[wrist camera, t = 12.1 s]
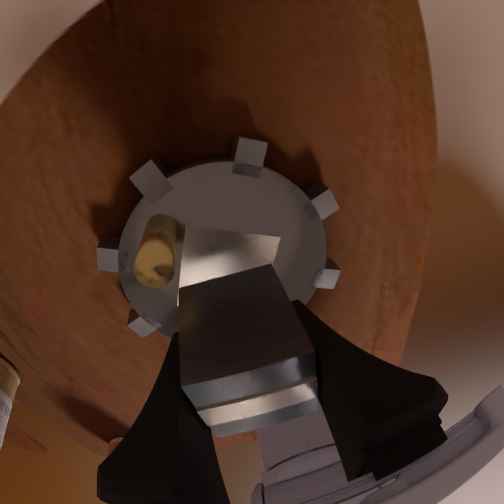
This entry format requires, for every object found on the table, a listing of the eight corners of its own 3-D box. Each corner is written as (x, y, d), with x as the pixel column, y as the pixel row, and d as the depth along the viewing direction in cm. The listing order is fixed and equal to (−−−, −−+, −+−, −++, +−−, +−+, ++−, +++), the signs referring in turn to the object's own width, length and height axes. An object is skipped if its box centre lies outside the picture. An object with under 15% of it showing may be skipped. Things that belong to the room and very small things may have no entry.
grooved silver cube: (282, 328, 14) (317, 413, 10) (205, 349, 14) (218, 439, 9) (271, 263, 12) (316, 353, 8) (178, 288, 12) (181, 389, 7)
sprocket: (361, 165, 16) (421, 194, 12) (296, 343, 22) (320, 397, 18) (111, 120, 12) (70, 129, 8) (110, 335, 18) (98, 397, 14)
